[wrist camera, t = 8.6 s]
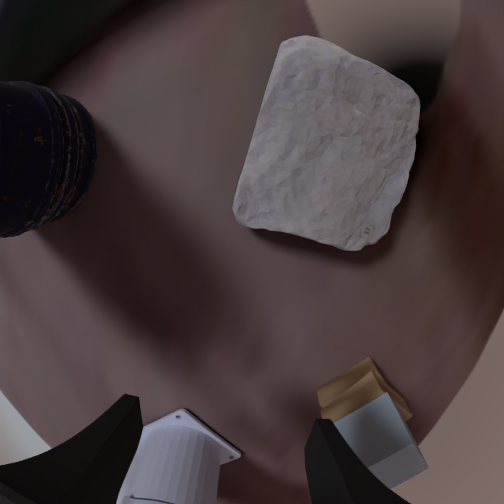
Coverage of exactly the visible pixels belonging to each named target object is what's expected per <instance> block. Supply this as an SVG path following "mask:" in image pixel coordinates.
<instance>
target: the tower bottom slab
mask: <svg viewBox="0 0 504 504" xmlns="http://www.w3.org/2000/svg"><path fill="white" fill-rule="evenodd" d="M370 371H372V372H374V373H375V374H376V375H377V376H378V377H379V378H380V379H382V380H383V381H384V382H385V383H386V384H387V382H386V381H385V379H384V378H383V376H382V375H381V373H380V372H379V370H378V369H377V367H376V366H375V364H374V363H373V361H372V360H371V358H370V357H367V358H366V359H364V360H363V361H361V362H360V363H358V364H357V365H355V366H354V367H352V368H350V369H349V370H347V371H346V372H344V373H343V374H341V375H339V376H338V377H336V378H334V379H333V380H331V381H329V382H328V383H326V384H324V385H323V386H321V387H319V388H317V389H316V392H317V396H318V400H319V404H320V406H321V407H322V408H324V407H326V406H327V405H328V404H330V403H331V402H332V401H334V400H335V399H336V398H338V397H339V396H340V395H342V394H343V393H344V392H345V391H347V390H348V389H349V388H351V387H352V386H353V385H354V384H356V383H357V382H358V381H359V380H361V379H362V378H363V377H364V376H365V375H367V374H368V373H369V372H370ZM387 385H388V384H387ZM388 386H389V385H388Z"/></svg>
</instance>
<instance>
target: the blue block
mask: <svg viewBox="0 0 504 504" xmlns="http://www.w3.org/2000/svg"><path fill="white" fill-rule="evenodd" d="M334 424H335V426H336V427H337V429H338V430H339V432H340V433H341V435H342V436H343V438H344V439H345V440H346V442H347V443H348V445H349V446H350V447H351V449H352V450H353V451H354V452H355V454H356V455H357V456H358V458H359V459H360V460H361V461H362V462H363V463H364V465H365V466H366V467H367V468H368V469H369V470H370V471H371V472H372V473H373V474H374V475H375V476H376V477H377V478H378V479H379V480H380V481H381V482H382V483H383V484H384V485H386V486H387V487H388V488H389V489H391V488H393V487H395V486H396V485H399V484H401V483H402V482H404V481H406V480H408V479H410V478H412V477H413V476H415V475H417V474H419V473H420V472H422V471H424V470H425V469H427V468H428V466H427V464H426V462H425V460H424V458H423V456H422V454H421V452H420V450H419V448H418V446H417V444H416V442H415V440H414V438H413V436H412V434H411V432H410V430H409V428H408V426H407V424H406V422H405V420H404V419H403V417H402V416H401V414H400V412H399V411H398V409H397V407H396V406H395V404H394V402H393V401H392V399H391V397H390V396H389V394H388V393H387V392H386V393H385V394H383V395H381V396H380V397H378V398H377V399H375V400H373V401H372V402H370V403H368V404H367V405H365V406H363V407H361V408H360V409H358V410H356V411H354V412H353V413H351V414H349V415H347V416H345V417H343V418H342V419H340V420H338V421H336V422H334Z"/></svg>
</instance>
